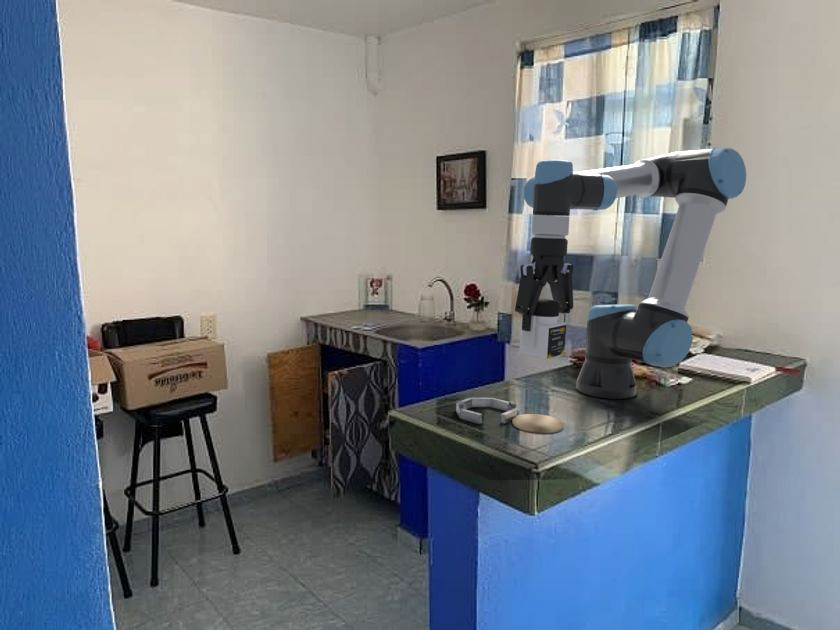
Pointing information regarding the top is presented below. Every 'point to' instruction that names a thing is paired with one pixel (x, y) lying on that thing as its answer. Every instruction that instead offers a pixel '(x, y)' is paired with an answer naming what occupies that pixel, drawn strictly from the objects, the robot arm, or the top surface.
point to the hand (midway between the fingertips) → (542, 343)
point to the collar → (485, 402)
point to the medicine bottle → (546, 332)
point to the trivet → (537, 423)
